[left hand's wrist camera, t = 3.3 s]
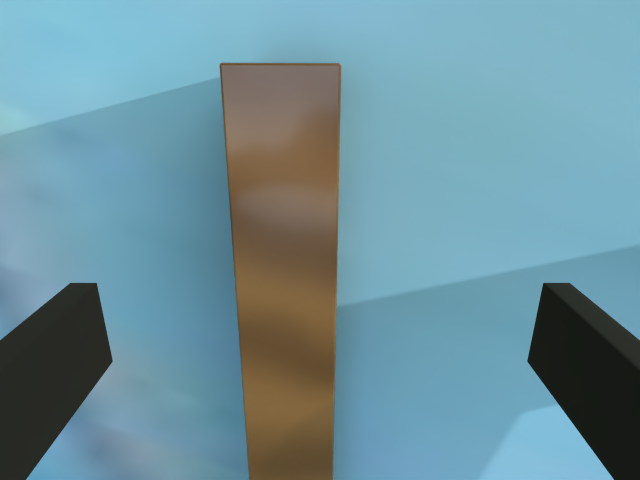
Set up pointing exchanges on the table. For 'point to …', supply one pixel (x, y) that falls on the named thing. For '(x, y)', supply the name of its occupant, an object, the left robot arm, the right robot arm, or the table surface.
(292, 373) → the bar
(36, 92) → the table surface
